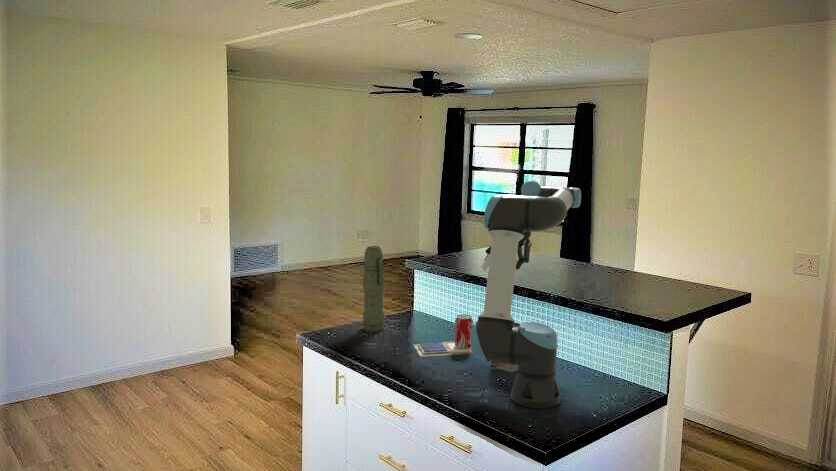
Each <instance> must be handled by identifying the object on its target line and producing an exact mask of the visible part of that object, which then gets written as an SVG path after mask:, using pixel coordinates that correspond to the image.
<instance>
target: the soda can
mask: <svg viewBox="0 0 836 471" xmlns="http://www.w3.org/2000/svg"><path fill="white" fill-rule="evenodd" d="M472 318H473V317H472V315H470V314H464V313H463V314H458V315H456V318H455V320H454V338H453V339H454V340H453V342H454V341H455V346H457V347H458V348H460V349H468V348H470V347H471V344H470V330H471V325H472V323H473V322H474V320H473V319H472Z"/></svg>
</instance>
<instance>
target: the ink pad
mask: <svg viewBox="0 0 836 471" xmlns="http://www.w3.org/2000/svg"><path fill="white" fill-rule="evenodd" d="M417 344H418V347H419V348H420V350H421V352H422V353H423V355H424V354H440V353H450V351H449V350H448V348H447V347H446V346H445V344H444V343H443V342H442V341H441V342H425V343H417Z"/></svg>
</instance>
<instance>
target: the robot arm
mask: <svg viewBox="0 0 836 471" xmlns="http://www.w3.org/2000/svg"><path fill="white" fill-rule="evenodd" d="M520 192H521V194H520V195H517V194H505V193H504V194H494V195H492V196H491V197H490V198H489V200H488V201H487V204H486V206H485V210H484V216H483V218H484V219H483V225H484V228H485V230H488V233H487V234H488V236H489V237H490V238H491V245H490V246H488V248H486V249H485V251H484V252H485V253H486V256H485V258H484V262H483V263H482V265H481V266H480V268H481V270H483V271H484V272H486V271H488V273H487V279H486V290H485V298H484V306H483V312H482V313H480V314H479V315H478V316H477V321H473V323H472V325H471V330H470V344H471V350H472V356H473V357H474V358H476V359H477V360H482V361H486V362H491V361H492V362H500V363H508V364H515V365H518V370H517V373H516V376H515V378H514V382H513V383H512V387H511V391H510V399H511V400H512V401H513V402H514V403H515V404H517V405H520V406H523V407H527V408H530V409H551V408H553V407H556V406H558V405H560V403H561V394H562V393H561V390H560V386H559V384H558V380H557V376H556V375H557V374H556V371H557V350H558V346H559V345H558V335H557V332H556V330H555V329H553V327H550V326H549V325H547V324H544V323H542V322H541V323H540V322H535V321H529V322H528V321H523V322H521V323H519V324H520V325H519V327H515V326H514V323H516V322H515V321H516V320H515V319H514V318H513V317H512V315H511V314H512V306H513V305H512V304H513V296H514V287H515V277H516V276H515V275H516V272H517V271H518V270H520V268H521V267H522V265H523V264H524V263H526V264H528V263H529V262H530V255H531V254H530V253H531V246H532V242H531V240H530V237H531V236H532V234H533V233H536V232H543V231H547V230H550V229H553V228H555V227H556V226H558V225H560V224H561V223H563V222H564V221H565V219H566V218H567V215H568V210H569V209H570V208H571V209H575V208H576V209H578V208H579V207H580V206H581V201H582V191H581V189H580V188H579V187H573V186H571V187H567V186H566V187H565V186H564V187H561V186H560V187H559V186H558V187H557V186H541V184H540V183H539V182H537V181H535V180H528V181H525V182H524V183H523V184H522V186H521V187H520ZM523 246H524V247H523Z"/></svg>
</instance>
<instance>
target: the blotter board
mask: <svg viewBox="0 0 836 471" xmlns="http://www.w3.org/2000/svg"><path fill="white" fill-rule="evenodd" d="M418 344H419V343H416V344H415V343H413V344H412V345H413V347H414V349H415V350H416V352H417V354H418V355H419V356H420V357H421V358H423V357H425V358H426V357H439V356H453V355H458V354H451V352H450V353H440V354H424V355H423V353H422V352H421V350H420V348H419V347H418ZM466 354H467V355H469V354H472V355H473V353H463V354H462V355H466Z"/></svg>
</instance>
